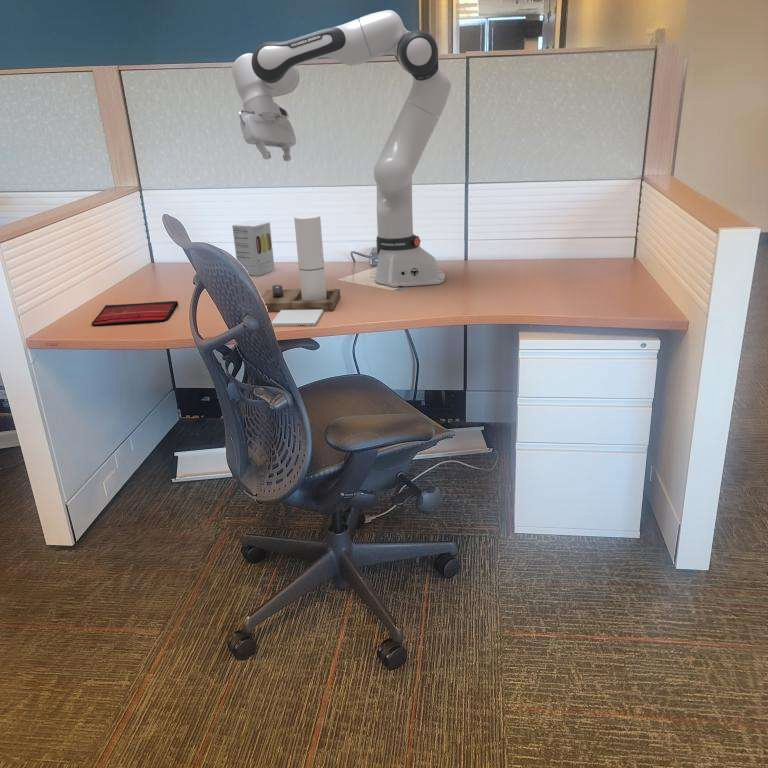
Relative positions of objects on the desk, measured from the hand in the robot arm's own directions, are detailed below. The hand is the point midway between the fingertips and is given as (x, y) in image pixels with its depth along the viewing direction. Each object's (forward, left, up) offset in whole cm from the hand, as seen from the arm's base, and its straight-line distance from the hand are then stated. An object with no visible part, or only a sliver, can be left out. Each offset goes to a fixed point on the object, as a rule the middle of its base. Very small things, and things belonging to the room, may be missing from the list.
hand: (278, 159), depth 195 cm
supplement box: (+18, -25, -39) cm, 50 cm away
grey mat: (-8, +29, -39) cm, 49 cm away
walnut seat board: (-6, +15, -39) cm, 42 cm away
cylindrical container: (-10, +15, -39) cm, 43 cm away
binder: (+40, +24, -40) cm, 61 cm away
